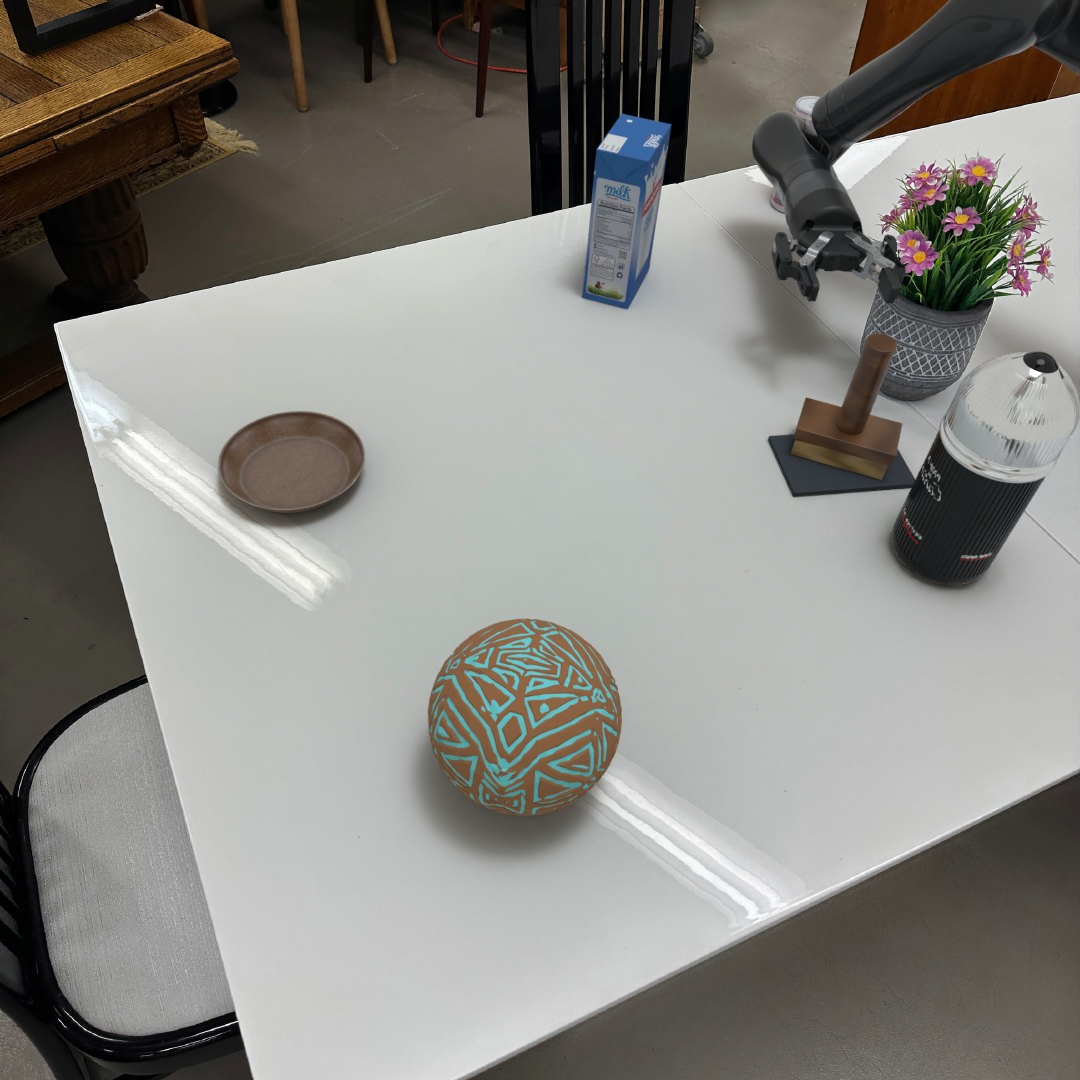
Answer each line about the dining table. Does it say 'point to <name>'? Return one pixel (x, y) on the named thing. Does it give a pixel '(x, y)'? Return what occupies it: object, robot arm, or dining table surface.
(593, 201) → the milk carton
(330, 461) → the saucer
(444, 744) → the decorative sphere
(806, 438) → the brush
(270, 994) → the dining table surface
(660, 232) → the dining table surface
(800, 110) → the beverage can
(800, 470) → the mat
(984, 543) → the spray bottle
